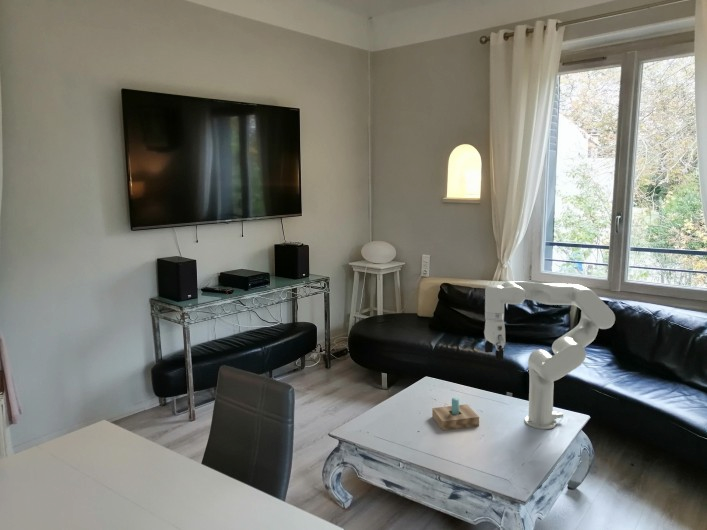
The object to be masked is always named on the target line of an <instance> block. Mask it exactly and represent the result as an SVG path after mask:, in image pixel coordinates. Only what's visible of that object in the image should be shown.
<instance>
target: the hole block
mask: <svg viewBox="0 0 707 530" xmlns="http://www.w3.org/2000/svg"><path fill="white" fill-rule="evenodd" d="M431 409H432V410H431V411H432V413H431V414H432V418H433V420H434V421H435V422H436V423H437V425H438V426H439V428H440V429H441V430H442V431H446V430H447V431H449V430H457V429H465V428H473V427H479V426H480V416H479V415H478V414H477V413H476V412H475V411H474V410H473V409H472V408H471V407H470V406H469V405H468V403H467V404H459V415H452V405H448V406H440V407H432V408H431Z"/></svg>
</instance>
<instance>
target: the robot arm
mask: <svg viewBox="0 0 707 530" xmlns="http://www.w3.org/2000/svg"><path fill="white" fill-rule="evenodd" d="M484 291H485V294H484V300H485V301H484V320H485V323H484V330H483V334H484V335H483V338H484V352H485V353H493V352H494V351H493V347H494V346H495V349H496V350H495V357H494V359H495V360H496V361H503V360H504V351H505V347H506V326H505V321H504V320H505V304H508V305H520V304H522V303H523V302H525V300H528V301H529V300H530V301H534V302H536V303H540V304H544V305H549V306H553V305H554V306H557V305H558V306H560V305H561V306H575V307H577V308H578V309H579V310H581V312H580V319H579V322H578V324H577V325H576V326H574V328H572V329H571V330H569V331H567V332H566V333H565V334H563V335H561V336H560V337H558V338H557V339H555V340H554V341H553V343H552V345H551V351H552V352H553V354H551V352H549V351H547V350H545V349H534V350H533V351H532V352H531V353H530V354H529V356H528V361H527V364H528V374H529V388H528V389H529V390H528V391H529V393H528V414H527V415H526V416H525V417H524V423H525V424H526V425H527V426H529V427H531V428H534V429H538V430H550V429H551V430H552V429H553V428H555V427H556V426H557V419H560V418H564V413H563V412H559V413H558V412H557V411H554V410H553V408H554V389H555V388H554V387H555V386H554V384H555V383H554V382H555V381H558V380H560V379H561V378H563V377H565V376H567V375H568V374H569V373H571V372H573V371H574V370H576V369H577V368H579V367H580V366H581V365H583V363H584V362H585V360H586V356H587V352H586V349H585V348H586V347H587V346H589V345H590V344H591V343H592V342H594V340H596V337H597V335H598V332H599V329H600V330H607V329H610V328H612V327H613V325H614V324H615V321H616V315H615V313H614V311H613V310H612V309H611V308H610V306H608V305H607V304H606V303H605V302H604V301H603V300H602V299H601V298H600V297H599V296H598V294H596V293H595V292H594V291H593V290H592V289H591V288H588V287H586V286H583V285H581V284H575V283H573V284H572V283H568V284H567V283H545V282H531V281H519V280H518V281H517V280H516V281H515V280H513V281H512V280H511V281H510V280H508V281H505V282H503V283H502V284H501V285H500V284H489V285H486V287H485V289H484ZM493 345H494V346H493Z"/></svg>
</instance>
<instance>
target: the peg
mask: <svg viewBox="0 0 707 530" xmlns="http://www.w3.org/2000/svg"><path fill="white" fill-rule="evenodd" d="M459 405H460V399H459V398H458V397H452V398H451V406H452V415H459Z"/></svg>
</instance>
